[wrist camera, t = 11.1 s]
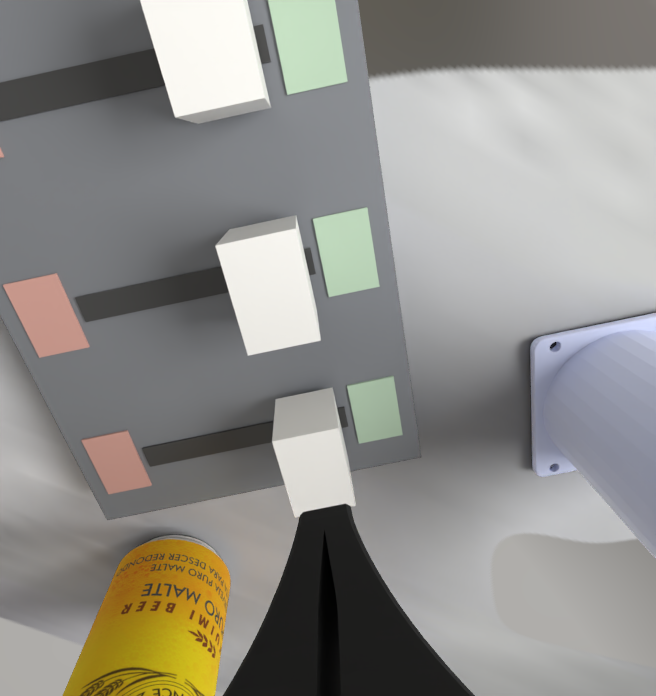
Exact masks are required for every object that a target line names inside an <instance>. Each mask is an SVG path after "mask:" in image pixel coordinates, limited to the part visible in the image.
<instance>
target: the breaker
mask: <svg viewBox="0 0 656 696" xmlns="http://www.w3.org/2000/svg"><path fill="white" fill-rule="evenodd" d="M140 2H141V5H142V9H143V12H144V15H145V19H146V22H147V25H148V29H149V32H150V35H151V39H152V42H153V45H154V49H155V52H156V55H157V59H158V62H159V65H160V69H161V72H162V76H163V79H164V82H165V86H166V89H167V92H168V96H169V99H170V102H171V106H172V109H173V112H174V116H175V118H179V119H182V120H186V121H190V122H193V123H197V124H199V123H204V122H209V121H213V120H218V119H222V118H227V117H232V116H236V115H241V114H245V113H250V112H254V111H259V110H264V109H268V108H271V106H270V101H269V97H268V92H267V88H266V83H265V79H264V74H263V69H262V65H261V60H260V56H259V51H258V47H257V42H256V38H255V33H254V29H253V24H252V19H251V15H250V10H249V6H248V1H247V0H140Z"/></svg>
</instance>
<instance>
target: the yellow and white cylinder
mask: <svg viewBox="0 0 656 696" xmlns="http://www.w3.org/2000/svg"><path fill="white" fill-rule="evenodd" d="M230 582H231V580H230V574H229V571H228V568H227V566H226V565H225V563H224V562H223V560H222V559H221V558H220V557H219V556H218V554H217V553H216V552H215V550H214V549H213V548H211V547H210V546H209V545H208V544H206V543H204V542H203V541H201V540H198V539H196V538H193V537H189V536H183V535H167V536H162V537H158V538H155V539H152V540H150V541H148V542H146V543H145V544H142V545H140V546H138V547H136V548H134V549H133V550H132V551H130V552H129V553H128V554H127V555H126V556H125V557H124V558H123V559H122V560H121V562H120V563H119V565H118V567H117V570H116V572H115V574H114V577H113V579H112V582H111V584H110V586H109V589H108V591H107V593H106V596H105V598H104V600H103V603H102V605H101V607H100V610H99V612H98V614H97V617H96V619H95V621H94V624H93V626H92V628H91V631H90V633H89V635H88V638H87V640H86V642H85V645H84V647H83V649H82V652H81V654H80V656H79V659H78V661H77V663H76V666H75V668H74V670H73V673H72V675H71V677H70V680H69V682H68V684H67V687H66V689H65V691H64V694H63V696H215V691H216V684H217V677H218V669H219V662H220V655H221V648H222V641H223V634H224V627H225V620H226V613H227V606H228V598H229V591H230Z"/></svg>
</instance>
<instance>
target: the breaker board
mask: <svg viewBox="0 0 656 696" xmlns="http://www.w3.org/2000/svg"><path fill="white" fill-rule="evenodd" d="M247 1H248V6H249V10H250V15H251V19H252V24H253V29H254V33H255V38H256V42H257V47H258V51H259V56H260V60H261V65H262V69H263V74H264V79H265V83H266V88H267V92H268V97H269V101H270V106H271V108H268V109H264V110H259V111H254V112H250V113H245V114H241V115H236V116H232V117H227V118H222V119H218V120H213V121H209V122H204V123H199V124H197V123H193V122H190V121H186V120H182V119H179V118H175V116H174V112H173V109H172V106H171V102H170V99H169V96H168V92H167V89H166V86H165V82H164V79H163V76H162V72H161V69H160V65H159V62H158V59H157V55H156V52H155V49H154V45H153V42H152V39H151V35H150V32H149V29H148V25H147V22H146V19H145V15H144V12H143V9H142V5H141V2H140V0H0V316H1V318H2V320H3V322H4V324H5V326H6V328H7V330H8V331H9V333H10V335H11V337H12V339H13V341H14V343H15V345H16V347H17V349H18V351H19V353H20V354H21V356H22V358H23V360H24V362H25V364H26V366H27V368H28V370H29V372H30V374H31V375H32V377H33V379H34V381H35V383H36V385H37V387H38V389H39V391H40V393H41V395H42V396H43V398H44V400H45V402H46V404H47V406H48V408H49V410H50V412H51V414H52V416H53V417H54V419H55V421H56V423H57V425H58V427H59V429H60V431H61V433H62V435H63V437H64V439H65V440H66V442H67V444H68V446H69V448H70V450H71V452H72V454H73V456H74V458H75V460H76V461H77V463H78V465H79V467H80V469H81V471H82V473H83V475H84V477H85V479H86V481H87V482H88V484H89V486H90V488H91V490H92V492H93V494H94V496H95V498H96V500H97V502H98V504H99V505H100V507H101V509H102V511H103V513H104V515H105V517H106V519H107V520H111V519H116V518H121V517H126V516H131V515H136V514H141V513H146V512H151V511H156V510H161V509H166V508H171V507H176V506H181V505H186V504H191V503H196V502H201V501H206V500H211V499H216V498H221V497H226V496H231V495H236V494H241V493H246V492H250V491H255V490H260V489H265V488H270V487H275V486H280V485H285V483H284V480H283V477H282V473H281V470H280V467H279V463H278V460H277V457H276V453H275V450H274V447H273V443H272V436H273V424H274V413H275V401H276V399H279V398H284V397H288V396H293V395H298V394H303V393H308V392H313V391H318V390H323V389H327V388H332V387H333V392H334V396H335V401H336V405H337V410H338V414H339V419H340V424H341V428H342V433H343V437H344V442H345V446H346V451H347V455H348V461H349V467H350V471H355V470H360V469H365V468H370V467H375V466H380V465H385V464H390V463H395V462H400V461H405V460H410V459H415V458H420V457H421V452H420V445H419V438H418V431H417V423H416V416H415V409H414V402H413V395H412V387H411V380H410V373H409V366H408V359H407V351H406V344H405V337H404V330H403V323H402V316H401V308H400V301H399V294H398V287H397V280H396V272H395V265H394V258H393V251H392V244H391V236H390V229H389V222H388V215H387V208H386V201H385V193H384V186H383V179H382V172H381V165H380V157H379V150H378V143H377V136H376V129H375V121H374V114H373V107H372V100H371V93H370V86H369V78H368V71H367V65H366V57H365V50H364V43H363V35H362V28H361V21H360V14H359V7H358V0H247ZM294 215H296V217H297V222H298V226H299V231H300V235H301V240H302V244H303V249H304V254H305V258H306V263H307V267H308V272H309V276H310V281H311V285H312V290H313V295H314V299H315V304H316V308H317V315H318V322H319V330H320V338H321V341H316V342H312V343H307V344H302V345H297V346H292V347H287V348H283V349H278V350H273V351H268V352H263V353H259V354H254V355H249V356H248V354H247V351H246V347H245V344H244V341H243V337H242V334H241V331H240V327H239V324H238V321H237V317H236V314H235V310H234V307H233V304H232V300H231V297H230V294H229V290H228V287H227V284H226V280H225V277H224V273H223V270H222V267H221V263H220V260H219V257H218V253H217V250H216V247H215V245H216V244H217V243H218V242H219V241H220V240H221V238H222V237H223V236H224V235H225V234H226V233H227V231H228V230H229V229H233V228H238V227H243V226H247V225H252V224H257V223H262V222H266V221H271V220H276V219H280V218H285V217H290V216H294Z"/></svg>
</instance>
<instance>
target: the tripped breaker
mask: <svg viewBox="0 0 656 696" xmlns="http://www.w3.org/2000/svg"><path fill="white" fill-rule="evenodd" d="M215 247H216V250H217V253H218V257H219V260H220V263H221V267H222V270H223V273H224V277H225V280H226V284H227V287H228V290H229V294H230V297H231V300H232V304H233V307H234V310H235V314H236V317H237V321H238V324H239V327H240V331H241V334H242V337H243V341H244V344H245V347H246V351H247V354H248V356H249V355H254V354H259V353H263V352H268V351H273V350H278V349H283V348H287V347H292V346H297V345H302V344H307V343H312V342H316V341H321V338H320V330H319V322H318V315H317V308H316V304H315V299H314V295H313V290H312V285H311V281H310V276H309V272H308V267H307V263H306V258H305V254H304V249H303V244H302V240H301V235H300V231H299V226H298V222H297V217H296V215H294V216H290V217H285V218H280V219H276V220H271V221H266V222H262V223H257V224H252V225H247V226H243V227H238V228H233V229H229V230H228V231H227V233H226V234H225V235H224V236H223V237H222V238H221V240H220V241H219V242H218V243H217V244H216V245H215Z"/></svg>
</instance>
